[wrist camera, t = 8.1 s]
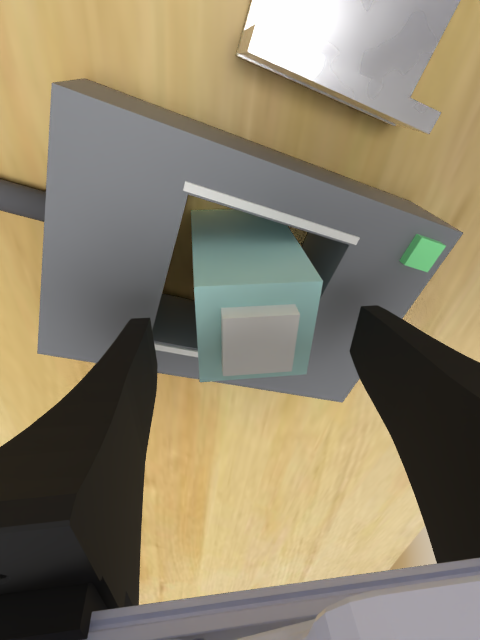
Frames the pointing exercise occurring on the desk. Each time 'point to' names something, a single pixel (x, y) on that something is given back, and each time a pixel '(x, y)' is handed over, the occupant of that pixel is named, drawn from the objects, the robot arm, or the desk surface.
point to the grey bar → (22, 200)
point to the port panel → (164, 221)
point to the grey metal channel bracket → (351, 50)
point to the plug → (251, 297)
